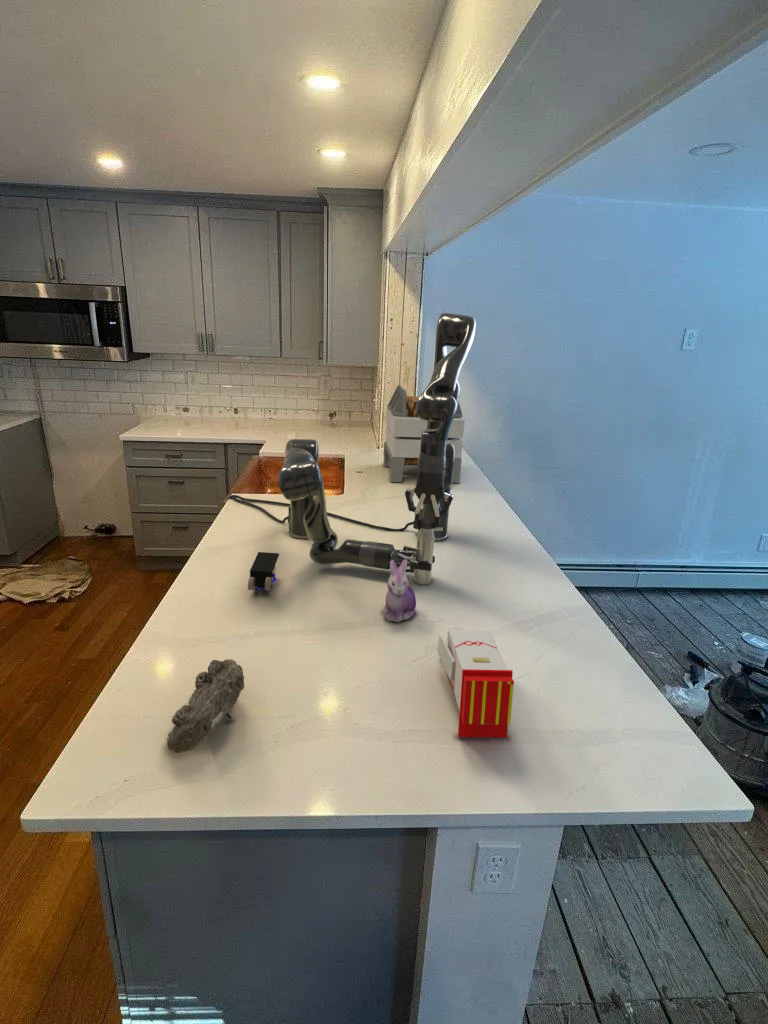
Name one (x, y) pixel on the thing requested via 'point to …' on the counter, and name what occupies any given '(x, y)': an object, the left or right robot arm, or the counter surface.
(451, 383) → the right robot arm
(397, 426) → the grey wooden crate
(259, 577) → the black toy truck
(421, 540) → the bottle
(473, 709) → the toy
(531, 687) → the counter surface
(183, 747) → the fossil
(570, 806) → the counter surface
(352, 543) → the left robot arm
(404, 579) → the figurine
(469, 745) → the counter surface
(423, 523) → the cap
